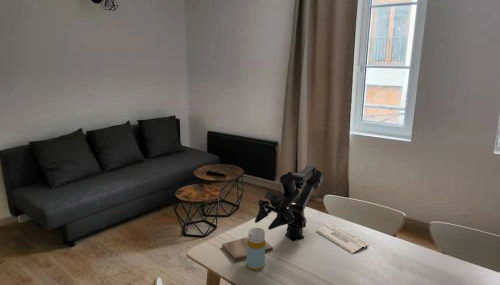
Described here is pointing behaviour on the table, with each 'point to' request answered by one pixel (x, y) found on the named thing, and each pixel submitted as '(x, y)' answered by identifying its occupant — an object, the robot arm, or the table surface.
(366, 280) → the table surface
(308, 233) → the table surface
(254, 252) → the bottle
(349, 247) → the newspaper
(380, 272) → the table surface
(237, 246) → the brown rectangular board
